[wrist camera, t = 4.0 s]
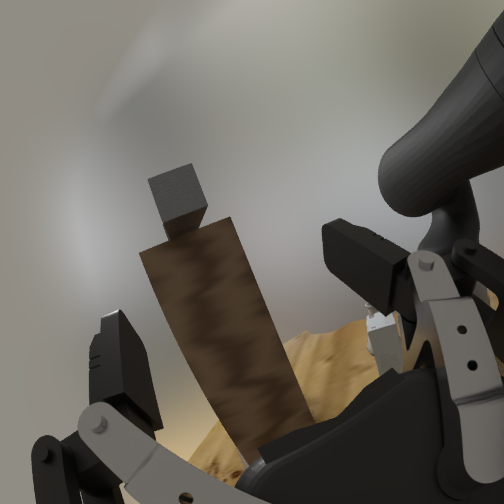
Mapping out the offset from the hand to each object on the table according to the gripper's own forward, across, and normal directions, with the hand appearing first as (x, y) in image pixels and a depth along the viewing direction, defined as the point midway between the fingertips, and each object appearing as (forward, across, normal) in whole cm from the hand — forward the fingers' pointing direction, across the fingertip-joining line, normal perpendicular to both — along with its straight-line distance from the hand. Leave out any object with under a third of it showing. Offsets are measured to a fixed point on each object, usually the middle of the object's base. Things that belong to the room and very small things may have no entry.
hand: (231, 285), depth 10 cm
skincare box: (+4, -20, +35) cm, 40 cm away
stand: (+8, 0, +37) cm, 38 cm away
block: (+19, 0, +6) cm, 20 cm away
